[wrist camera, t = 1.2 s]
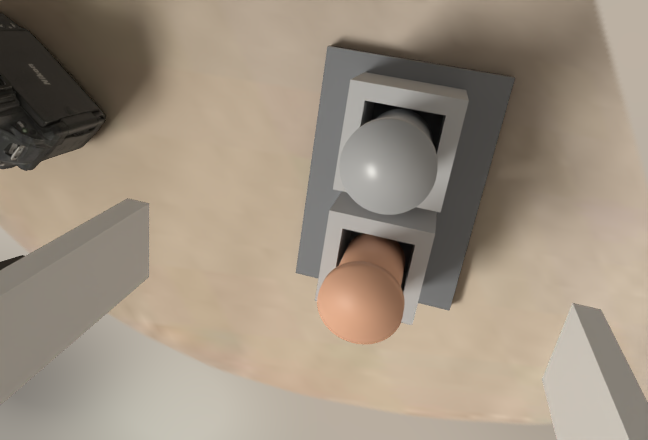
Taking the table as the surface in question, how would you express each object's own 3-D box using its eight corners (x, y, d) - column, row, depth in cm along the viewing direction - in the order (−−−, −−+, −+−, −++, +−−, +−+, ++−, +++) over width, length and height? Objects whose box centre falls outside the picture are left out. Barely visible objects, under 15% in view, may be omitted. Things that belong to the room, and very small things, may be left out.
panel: (330, 45, 34) (307, 49, 29) (513, 76, 32) (526, 87, 27) (298, 268, 41) (274, 306, 35) (449, 305, 39) (449, 351, 33)
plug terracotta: (345, 218, 33) (323, 258, 27) (418, 234, 32) (411, 279, 27) (334, 282, 35) (311, 332, 29) (403, 299, 34) (393, 353, 29)
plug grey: (367, 95, 30) (347, 111, 24) (448, 110, 29) (447, 130, 24) (353, 171, 32) (332, 203, 26) (429, 187, 31) (425, 223, 26)
